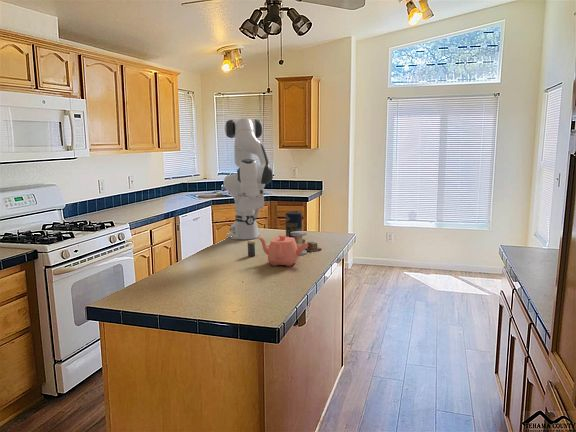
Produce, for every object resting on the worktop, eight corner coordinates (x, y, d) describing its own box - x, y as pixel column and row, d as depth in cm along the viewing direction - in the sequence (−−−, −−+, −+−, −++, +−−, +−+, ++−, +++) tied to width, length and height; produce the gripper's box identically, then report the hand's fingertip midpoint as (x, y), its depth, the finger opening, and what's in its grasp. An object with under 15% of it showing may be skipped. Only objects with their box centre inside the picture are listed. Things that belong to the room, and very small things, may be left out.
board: (291, 246, 253) (291, 239, 252) (301, 244, 257) (301, 237, 256) (311, 252, 238) (310, 244, 238) (321, 250, 242) (321, 242, 241)
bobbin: (287, 253, 237) (287, 232, 236) (300, 250, 242) (300, 230, 240) (296, 256, 231) (296, 235, 229) (310, 253, 235) (309, 232, 233)
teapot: (277, 271, 205) (276, 241, 203) (257, 262, 220) (256, 234, 218) (309, 264, 215) (309, 235, 213) (288, 256, 230) (287, 230, 228)
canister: (283, 240, 268) (282, 210, 265) (297, 238, 272) (297, 208, 269) (290, 243, 260) (289, 212, 257) (304, 241, 264) (304, 211, 261)
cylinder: (246, 255, 234) (246, 240, 232) (252, 254, 236) (252, 239, 234) (250, 257, 231) (249, 241, 230) (256, 256, 233) (255, 240, 231)
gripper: (241, 194, 217) (242, 222, 220) (265, 190, 234) (266, 216, 237) (231, 193, 221) (232, 221, 223) (256, 189, 238) (256, 215, 240)
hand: (250, 219), depth 230 cm, fingers open, 8 cm apart
